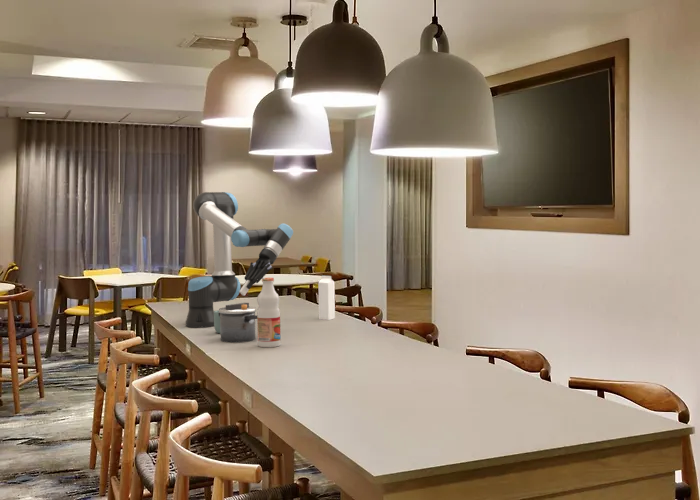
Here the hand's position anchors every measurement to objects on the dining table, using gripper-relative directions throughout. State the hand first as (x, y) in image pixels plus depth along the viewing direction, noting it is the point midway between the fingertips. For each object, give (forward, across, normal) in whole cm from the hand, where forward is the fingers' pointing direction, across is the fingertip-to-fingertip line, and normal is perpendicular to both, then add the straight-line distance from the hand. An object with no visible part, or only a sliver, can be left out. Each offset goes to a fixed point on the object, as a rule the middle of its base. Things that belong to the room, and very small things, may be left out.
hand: (241, 293), depth 333 cm
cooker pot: (+16, 0, -12) cm, 20 cm away
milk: (-31, +11, -60) cm, 68 cm away
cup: (+11, +19, -17) cm, 28 cm away
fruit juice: (+17, -22, -11) cm, 30 cm away
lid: (+7, 0, -3) cm, 8 cm away
